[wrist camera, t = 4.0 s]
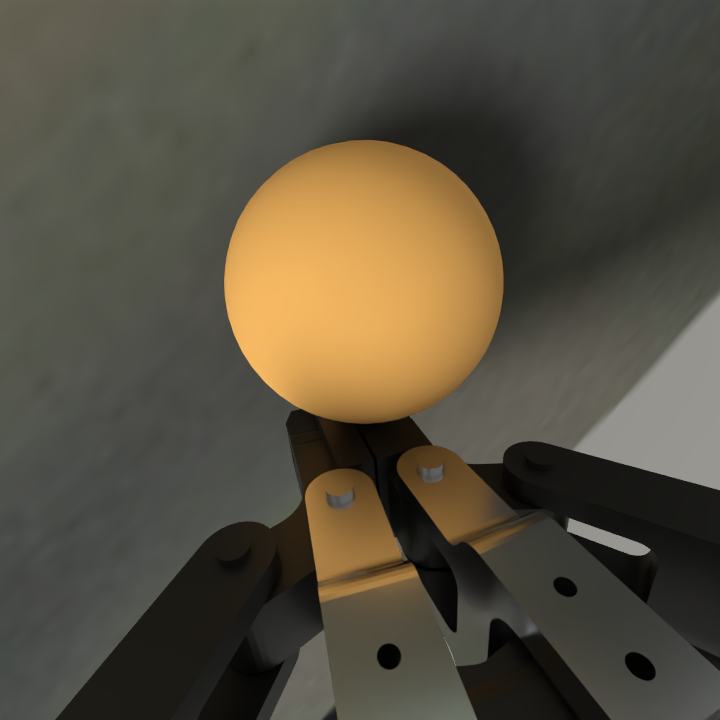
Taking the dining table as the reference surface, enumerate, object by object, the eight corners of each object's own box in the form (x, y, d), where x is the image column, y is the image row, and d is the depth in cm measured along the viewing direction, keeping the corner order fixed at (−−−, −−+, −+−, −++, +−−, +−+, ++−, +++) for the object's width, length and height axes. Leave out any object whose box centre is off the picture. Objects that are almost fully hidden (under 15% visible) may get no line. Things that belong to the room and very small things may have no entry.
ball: (206, 207, 10) (162, 86, 5) (411, 179, 12) (550, 60, 6) (258, 420, 11) (267, 510, 6) (444, 371, 12) (592, 409, 7)
